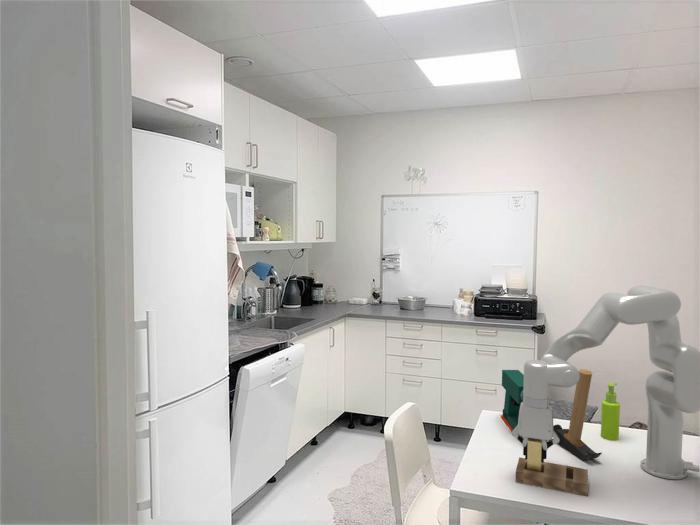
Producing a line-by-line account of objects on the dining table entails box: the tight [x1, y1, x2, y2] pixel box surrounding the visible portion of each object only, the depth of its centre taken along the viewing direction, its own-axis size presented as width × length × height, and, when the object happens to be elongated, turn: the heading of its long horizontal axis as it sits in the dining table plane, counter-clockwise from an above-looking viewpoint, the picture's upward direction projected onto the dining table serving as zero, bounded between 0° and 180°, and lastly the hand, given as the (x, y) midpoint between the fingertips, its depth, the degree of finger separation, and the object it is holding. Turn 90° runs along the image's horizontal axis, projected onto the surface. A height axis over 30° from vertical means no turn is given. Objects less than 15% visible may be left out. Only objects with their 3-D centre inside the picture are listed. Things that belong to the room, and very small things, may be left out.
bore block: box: [515, 456, 589, 497], centre depth 154 cm, size 20×10×4 cm, turn 66°
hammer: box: [553, 368, 603, 461], centre depth 172 cm, size 20×5×30 cm, turn 14°
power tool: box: [500, 369, 524, 433], centre depth 189 cm, size 32×7×20 cm, turn 179°
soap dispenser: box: [600, 382, 621, 441], centre depth 186 cm, size 6×7×20 cm
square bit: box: [527, 438, 543, 472], centre depth 156 cm, size 4×4×10 cm
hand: (534, 458), depth 156 cm, fingers closed on square bit, 4 cm apart
